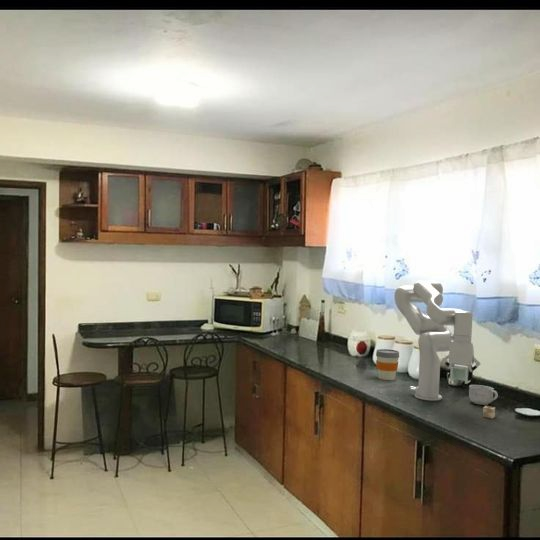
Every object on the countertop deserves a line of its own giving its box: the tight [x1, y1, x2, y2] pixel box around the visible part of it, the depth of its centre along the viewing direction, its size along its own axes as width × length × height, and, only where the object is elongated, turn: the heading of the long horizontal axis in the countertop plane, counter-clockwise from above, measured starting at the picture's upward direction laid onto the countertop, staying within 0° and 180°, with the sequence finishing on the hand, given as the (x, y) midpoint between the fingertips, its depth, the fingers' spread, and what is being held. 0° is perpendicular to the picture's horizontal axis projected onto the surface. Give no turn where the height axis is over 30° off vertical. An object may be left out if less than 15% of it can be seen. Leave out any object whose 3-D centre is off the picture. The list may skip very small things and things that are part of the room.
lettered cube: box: [482, 405, 496, 419], centre depth 246 cm, size 4×4×4 cm
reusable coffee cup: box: [375, 348, 400, 381], centre depth 315 cm, size 13×12×15 cm
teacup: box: [468, 384, 499, 406], centre depth 267 cm, size 14×11×8 cm
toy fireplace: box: [449, 364, 472, 385], centre depth 254 cm, size 7×6×6 cm
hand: (460, 378), depth 254 cm, fingers closed on toy fireplace, 7 cm apart
